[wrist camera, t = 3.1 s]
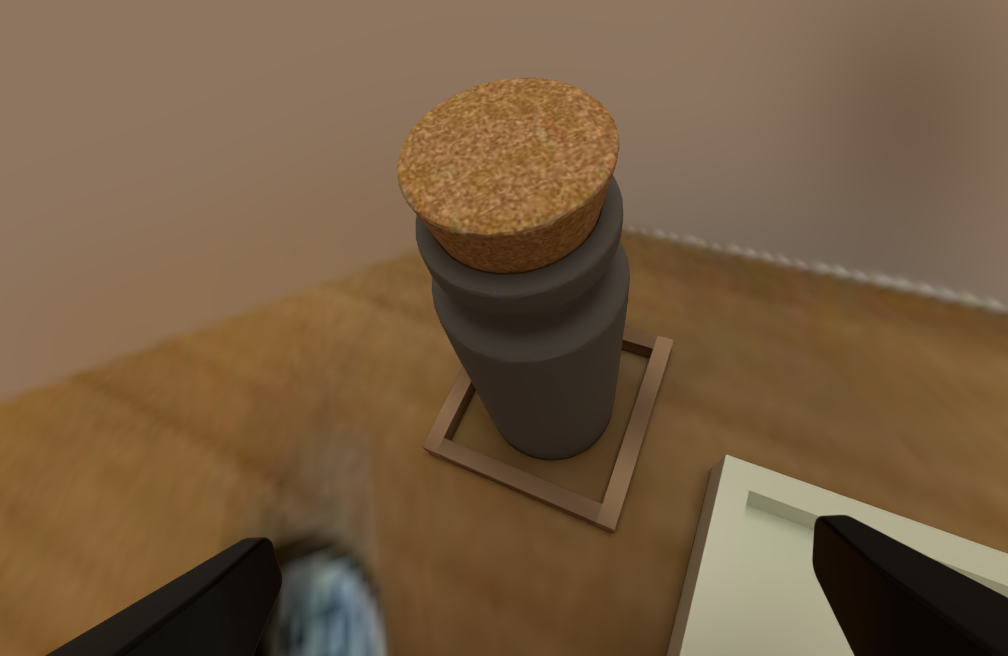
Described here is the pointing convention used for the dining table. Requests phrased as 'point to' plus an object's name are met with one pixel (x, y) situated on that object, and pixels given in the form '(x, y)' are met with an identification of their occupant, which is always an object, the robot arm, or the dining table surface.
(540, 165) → the bottle
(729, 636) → the tray
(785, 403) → the dining table surface
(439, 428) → the seat frame
